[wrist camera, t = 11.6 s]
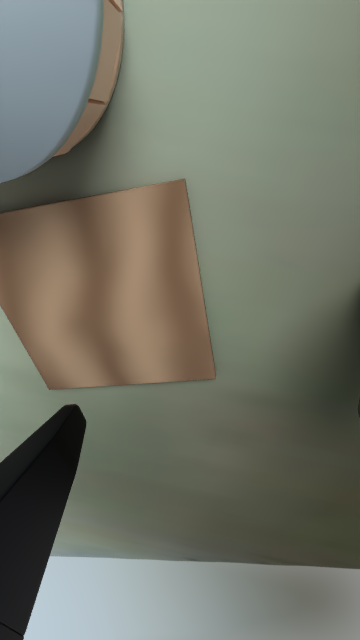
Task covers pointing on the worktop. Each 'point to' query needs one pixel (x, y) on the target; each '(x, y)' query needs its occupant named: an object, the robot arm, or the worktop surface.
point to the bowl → (102, 73)
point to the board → (107, 288)
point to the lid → (44, 77)
